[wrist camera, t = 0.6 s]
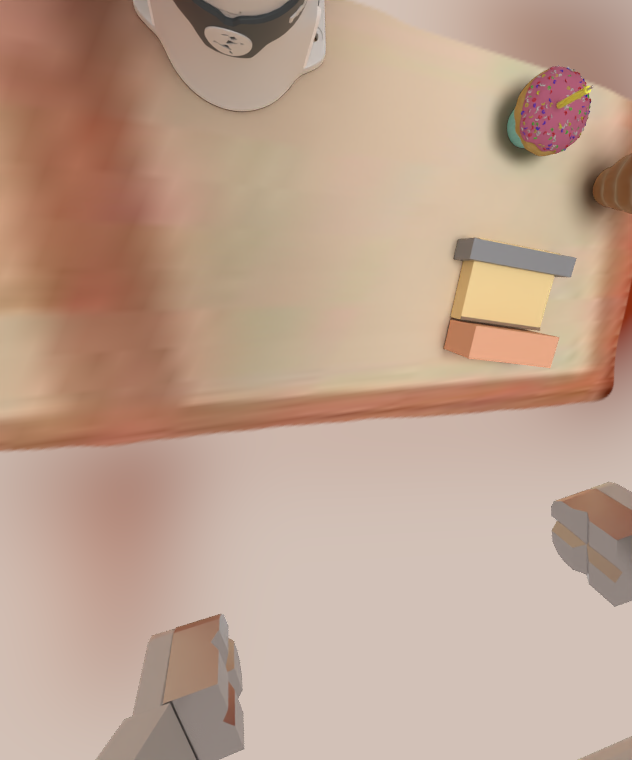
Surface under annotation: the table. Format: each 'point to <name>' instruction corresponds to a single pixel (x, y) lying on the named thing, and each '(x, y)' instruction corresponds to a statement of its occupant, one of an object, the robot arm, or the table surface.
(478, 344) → the block
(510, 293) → the yellow slab with bar
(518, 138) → the cupcake
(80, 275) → the table surface
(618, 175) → the cat ice cream
